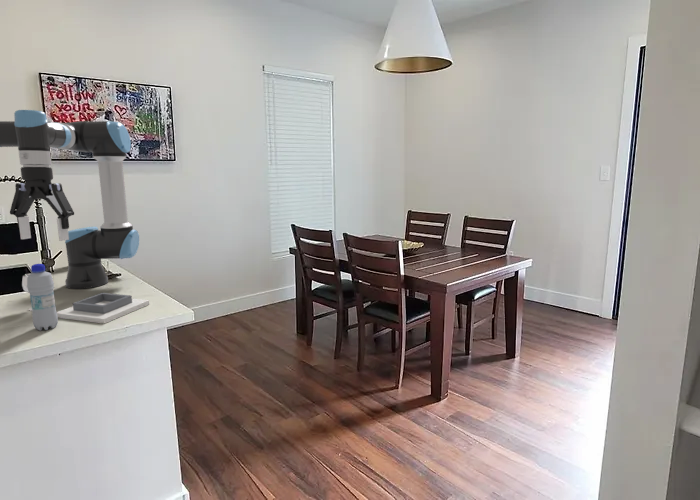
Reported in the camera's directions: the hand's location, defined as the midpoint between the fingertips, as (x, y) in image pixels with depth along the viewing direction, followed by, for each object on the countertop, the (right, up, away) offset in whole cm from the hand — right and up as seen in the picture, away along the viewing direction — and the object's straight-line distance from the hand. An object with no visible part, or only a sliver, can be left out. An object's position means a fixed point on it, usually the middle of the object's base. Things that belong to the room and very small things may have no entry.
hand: (44, 239), depth 134 cm
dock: (+7, -24, +20) cm, 32 cm away
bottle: (-2, -27, +4) cm, 27 cm away
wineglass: (-18, -23, +22) cm, 37 cm away
